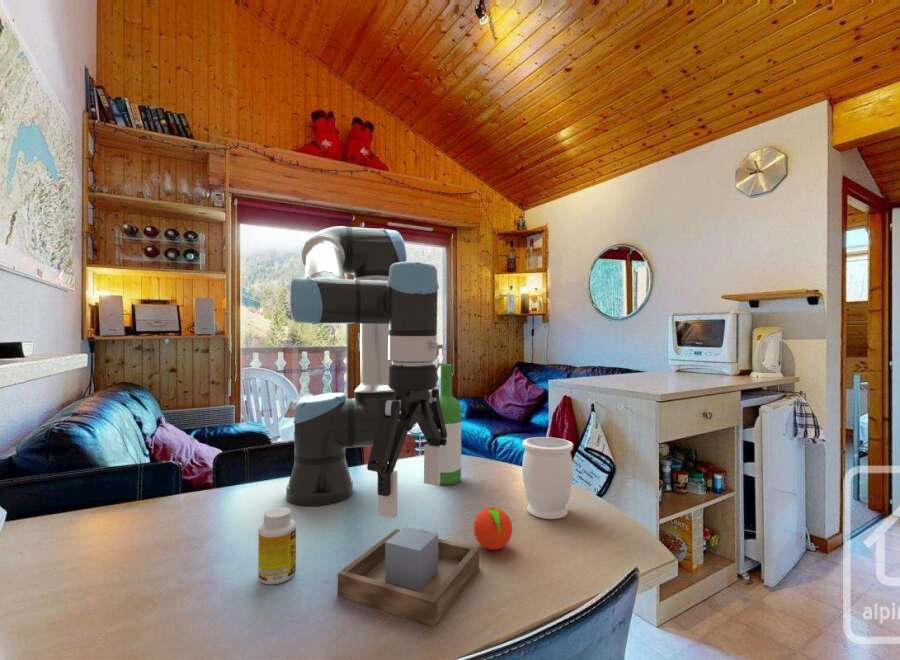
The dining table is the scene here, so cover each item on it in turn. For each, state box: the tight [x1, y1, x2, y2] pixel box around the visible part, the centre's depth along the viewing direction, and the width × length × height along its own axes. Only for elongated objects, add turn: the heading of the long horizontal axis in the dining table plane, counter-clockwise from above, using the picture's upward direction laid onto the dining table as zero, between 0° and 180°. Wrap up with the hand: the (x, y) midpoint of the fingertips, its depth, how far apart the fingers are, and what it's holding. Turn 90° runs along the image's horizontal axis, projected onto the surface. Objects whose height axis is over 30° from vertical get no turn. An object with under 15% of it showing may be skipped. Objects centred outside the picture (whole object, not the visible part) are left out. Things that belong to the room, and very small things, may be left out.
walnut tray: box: [337, 528, 480, 628], centre depth 69 cm, size 16×16×3 cm
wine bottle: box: [439, 363, 462, 486], centre depth 114 cm, size 8×8×30 cm
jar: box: [521, 436, 574, 520], centre depth 95 cm, size 11×10×15 cm
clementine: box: [473, 507, 513, 551], centre depth 79 cm, size 8×7×7 cm
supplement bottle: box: [257, 506, 297, 585], centre depth 70 cm, size 6×6×10 cm
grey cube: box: [385, 525, 439, 592], centre depth 69 cm, size 6×6×6 cm
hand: (411, 498), depth 69 cm, fingers open, 13 cm apart
